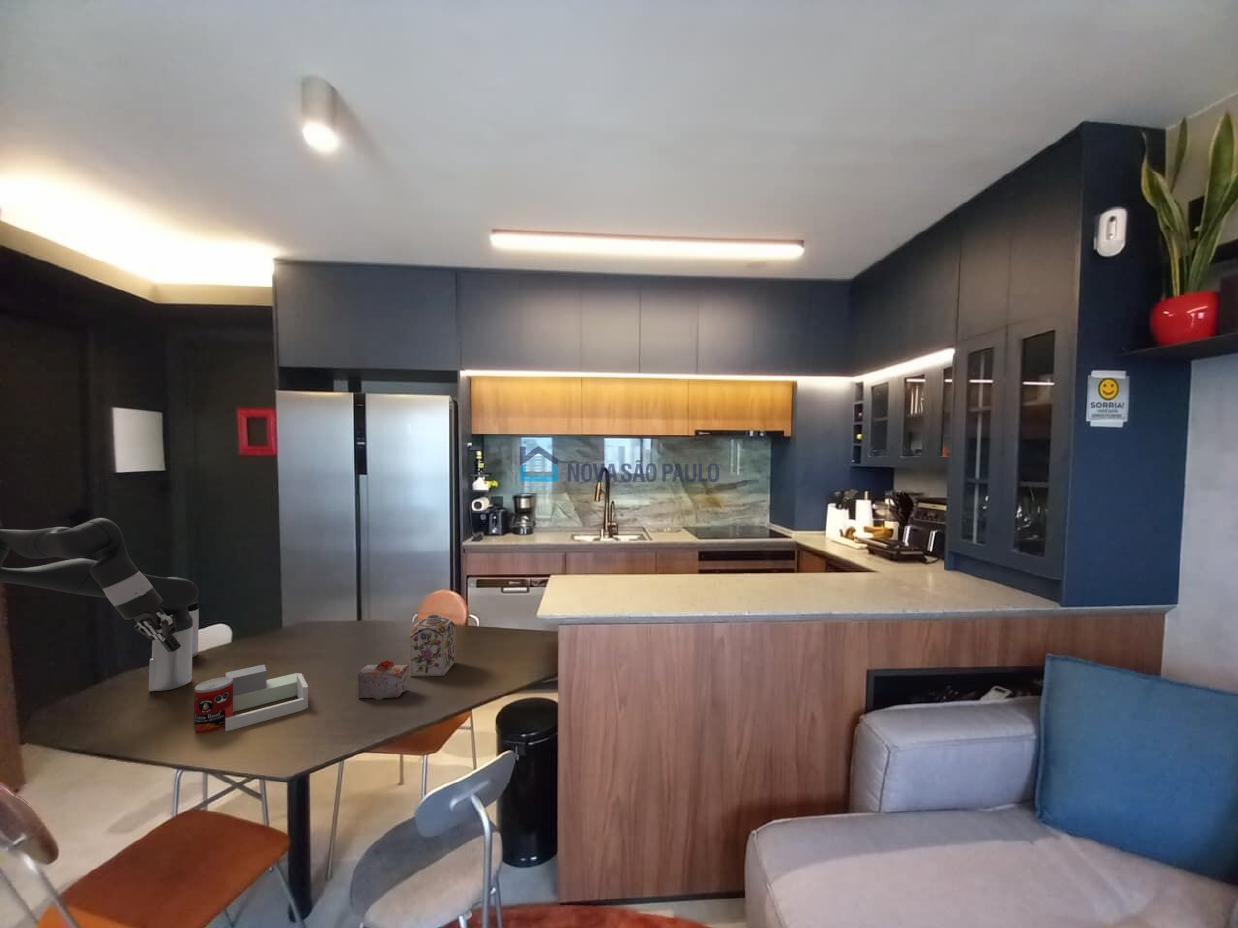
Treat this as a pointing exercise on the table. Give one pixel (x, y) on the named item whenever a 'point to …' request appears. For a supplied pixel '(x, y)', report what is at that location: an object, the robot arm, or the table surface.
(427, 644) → the decorative jar
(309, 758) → the table surface
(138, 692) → the table surface
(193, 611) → the travel mug
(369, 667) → the food item
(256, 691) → the white open tray
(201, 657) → the table surface
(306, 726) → the table surface
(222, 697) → the canned food
